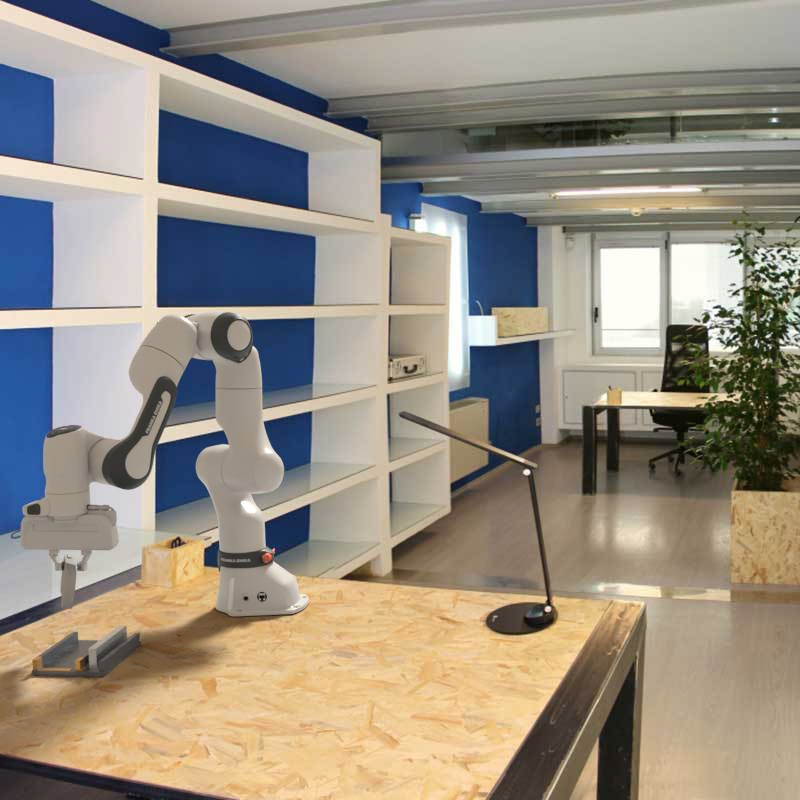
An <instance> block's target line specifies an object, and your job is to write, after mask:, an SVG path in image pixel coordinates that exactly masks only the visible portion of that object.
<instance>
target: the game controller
mask: <svg viewBox="0 0 800 800" xmlns="http://www.w3.org/2000/svg"><path fill="white" fill-rule="evenodd" d="M62 561H65V564H64V570H63V571H61V575H60V576H61V578H60V587H59V588H60V592H59V593H60V594H61V600H60V601H61V605H60V607H61V609H67V610H68V609H69V610H71V609H72V608H73V607H74V603H75V601H74V600H75V594H76V593H75V592H76V585H77V584H76V583H77V582H76V581H77V563H76V559H75V555H73V554H70V553H69V554H66V555H64V556H63V560H62Z"/></svg>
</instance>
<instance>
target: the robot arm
mask: <svg viewBox="0 0 800 800" xmlns="http://www.w3.org/2000/svg"><path fill="white" fill-rule="evenodd" d="M253 335H254V334H253V331H252V327H251V324H250V323H249V321H248V320H247V318H246V317H244V316H243V315H242V314H239V313H235V312H230V311H228V312H227V311H226V312H221V311H207V312H203V313H198V314H197V313H191V314H188V315H187V314H186V315H184V316H182V315H180V314H179V315H178V314H173V313H172V314H166V315H165V316H162V317H161V318H160V320H159V321H158V322H156V324H155V325H154V326H153V327H152V329H151V330H150V331H149V333H148V334H147V335H146V337H145V338H144V339H143V340H142V343H140V346H139V347H138V349H136V350H137V351H135V354H134V355H133V357H132V360H131V362H130V365H129V369H128V376H129V381H130V383H131V384H132V386H133V387H134V389H135V390H136V391H137V392H138V393H140V395H141V396H142V405H141V407H140V410H138V411H139V412H138V414H137V415H136V419H135V421H134V423H133V425H132V427H131V430H130V432H129V433H128V434H127V435H126V436H124V437H123V438H122V439H113V438H109V437H104V436H100V435H98V434H95V433H93V432H90V431H88V430H87V429H85V428H84V427H83V426H81V425H78V424H69V425H63V426H59V427H56V428H53V429H51V430H50V431H48V433H46V435H45V438H44V441H43V449H42V450H43V451H42V452H43V453H42V464H43V466H42V467H43V475H44V476H45V488H44V497H41V498H39V499H37V500H35V501H32V502H30V503H27V504H24V505H23V506H22V510H21V511H22V514H23V515H24V517H23V518H22V520H21V522H20V545H21V547H22V548H23V549H24V550H27V551H28V550H29V551H30V550H33V551H34V550H35V551H37V550H39V551H44V550H45V551H46V550H47V551H48V555H49V557H50V559H51V560H52V561H53V563H54V570H55V571H56V572H62V571H63V570H64V564H65V561H63V560H62V559H61V557H60V553H61V551H80V554H81V556H83V557H82V559H81V560H80V561H79V562H78V561H77V563H76V572H87V571H88V561H89V559H90V558H91V556H92V553H93V551H112V550H114V549H115V548H117V546H118V545H119V543H120V539H119V531H118V525H117V520H118V517H117V511H116V510H115V508H113V507H112V506H110V505H109V504H102V505H101V504H91V493H90V492H91V490H90V485H91V483H98V484H102V485H109V486H113V487H115V488H118V489H122V490H125V491H126V490H127V491H128V490H129V491H130V490H131V491H132V490H135V489H137V488H139V487H141V486H142V485H144V483H146V481H147V480H148V479H149V477H150V475H151V473H152V469H153V466H154V460H155V456H156V455H155V454H156V450H157V448H158V445H159V442H160V440H161V437H162V435H163V433H164V430H165V428H166V426H167V423H168V421H169V419H170V416H171V414H172V411H173V409H174V407H175V403H176V400H177V398H178V385H179V382H180V380H181V378H182V376H183V375H184V374H183V373H184V372H185V370H186V369H187V366H188V364H189V362H190V360H201V361H202V360H204V361H212V362H213V364H214V366H215V370H216V371H215V372H216V373H215V420H216V422H217V424H218V426H219V427H220V428H221V429H222V430H223V432H224V434H225V436H226V439H227V442H228V444H225V443H221V444H216V445H212V446H207V447H205V448H204V449H202V451H201V452H200V453H199V454H198V456H197V459H196V461H195V472H196V475H197V477H198V479H199V480H200V481H201V482H202V484H203V485H204V486H205V488H206V489H207V491H208V494H209V496H210V499H211V501H212V504H213V507H214V510H215V514H216V518H217V519H216V520H217V529H218V544H219V546H218V547H219V548H218V549H217V568H218V572H219V579H218V580H219V583H218V591H217V597H216V601H215V606H214V607H215V610H217V611H219V612H222V613H225V614H227V616H230V617H253V616H255V617H256V616H272V615H275V616H276V615H278V616H279V615H291V614H292V615H293V614H296V613H300V611H303V610H305V608H307V606H308V605H309V603H310V598H309V596H308V595H307V594H304V593H300V588H299V584H298V581H297V580H298V579H297V577H296V576H295V575H294V574H293V573H290V571H288V570H287V569H285V568H283V567H282V566H281V565H279V564H278V563H277V562H275V553H276V552H275V551H276V549H275V548H273V549H271V548H269V547H268V546H267V545H266V526H265V525H266V524H265V515H264V513H263V510H261V509H260V508H259V507H258V505H257V504H256V502H255V501H254V498H253V496H252V495H258V494H259V495H261V494H265V493H271V492H273V491H276V489H278V488H279V486H280V485H281V484H282V481H283V480H284V479H283V478H284V475H285V466H284V463H283V460H282V458H281V457H280V456H279V455H278V453H276V450H274V448H273V446H272V444H271V441H270V440H269V436H268V434H267V431H266V427H265V423H264V416H263V415H264V413H263V408H264V407H263V378H262V377H263V376H262V375H263V374H262V369H261V368H262V366H261V361H260V357H259V356H260V355H259V351H258V350H257V348H256V347H255V346H254V336H253Z"/></svg>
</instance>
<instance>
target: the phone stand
mask: <svg viewBox="0 0 800 800" xmlns="http://www.w3.org/2000/svg"><path fill="white" fill-rule="evenodd" d="M127 628H128V626H127V625H118V626H117V627H115V628H114V629H113V630H111V631H110V632H108V633H107V634H106V635H105V636H104V637H102V638H101V639H98V640H97V639H96V640H95V639H94V640H93V639H85V640H84V639H79V632H78V631H72V632H71V633H69V634H68V635H66V636H65V637H63V638H61V640H59V641H58V642H57V643H55V644H53V645H52V646H50V647H49V648H48V649H46V650H45V651H43V652H41V653H40V654H39V655H37V656H36V657H34V658H33V659H32V670H31V676H32V675H44V676H43V677H76V676H82V677H83V678H85V677H86V678H104V677H106V676H107V675H108V674H109V673H110V672H112V671H113V670H114V669H115V668H116V667H118V666H119V665H120V664H121V663H122V662H124V661H125V660H126V659H127V658H128V657H130V656H131V655H132V654H133V653H134V652H135V651H136V649H137V648H138V649H139V648H140V647H141V646H142V641H141V637H140V636H141V634H140V632H134V633H132V635H131V636H128V631H127ZM138 649H137V650H138ZM132 652H133V653H132ZM131 653H132V654H131ZM130 654H131V655H130ZM125 658H126V659H125ZM124 659H125V660H124ZM119 663H120V664H119ZM118 664H119V665H118ZM49 675H50V676H49ZM57 675H58V676H57ZM82 677H81V678H82Z"/></svg>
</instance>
